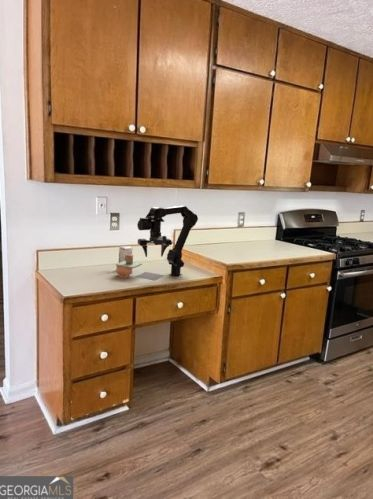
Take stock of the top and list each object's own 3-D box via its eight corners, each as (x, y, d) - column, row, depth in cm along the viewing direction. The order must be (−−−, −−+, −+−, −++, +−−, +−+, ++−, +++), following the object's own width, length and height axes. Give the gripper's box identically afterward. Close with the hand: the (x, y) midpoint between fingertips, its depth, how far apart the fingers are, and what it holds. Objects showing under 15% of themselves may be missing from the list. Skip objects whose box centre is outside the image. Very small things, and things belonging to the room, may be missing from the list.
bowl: (121, 274, 221) (121, 262, 220) (134, 276, 218) (135, 264, 217) (113, 277, 213) (113, 265, 212) (126, 280, 210) (127, 268, 208)
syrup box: (125, 268, 235) (126, 245, 232) (131, 270, 232) (132, 247, 229) (118, 269, 231) (118, 246, 228) (124, 271, 227) (125, 248, 224)
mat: (145, 272, 228) (145, 271, 228) (164, 276, 223) (164, 275, 223) (134, 277, 216) (134, 276, 216) (154, 281, 211) (155, 280, 211)
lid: (125, 262, 222) (125, 252, 221) (141, 264, 219) (142, 255, 217) (115, 265, 211) (116, 255, 210) (133, 268, 208) (134, 258, 207)
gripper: (143, 232, 200) (142, 260, 203) (176, 232, 207) (174, 259, 210) (137, 228, 210) (136, 255, 213) (169, 228, 217) (167, 255, 220)
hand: (154, 256), depth 214 cm, fingers open, 9 cm apart
